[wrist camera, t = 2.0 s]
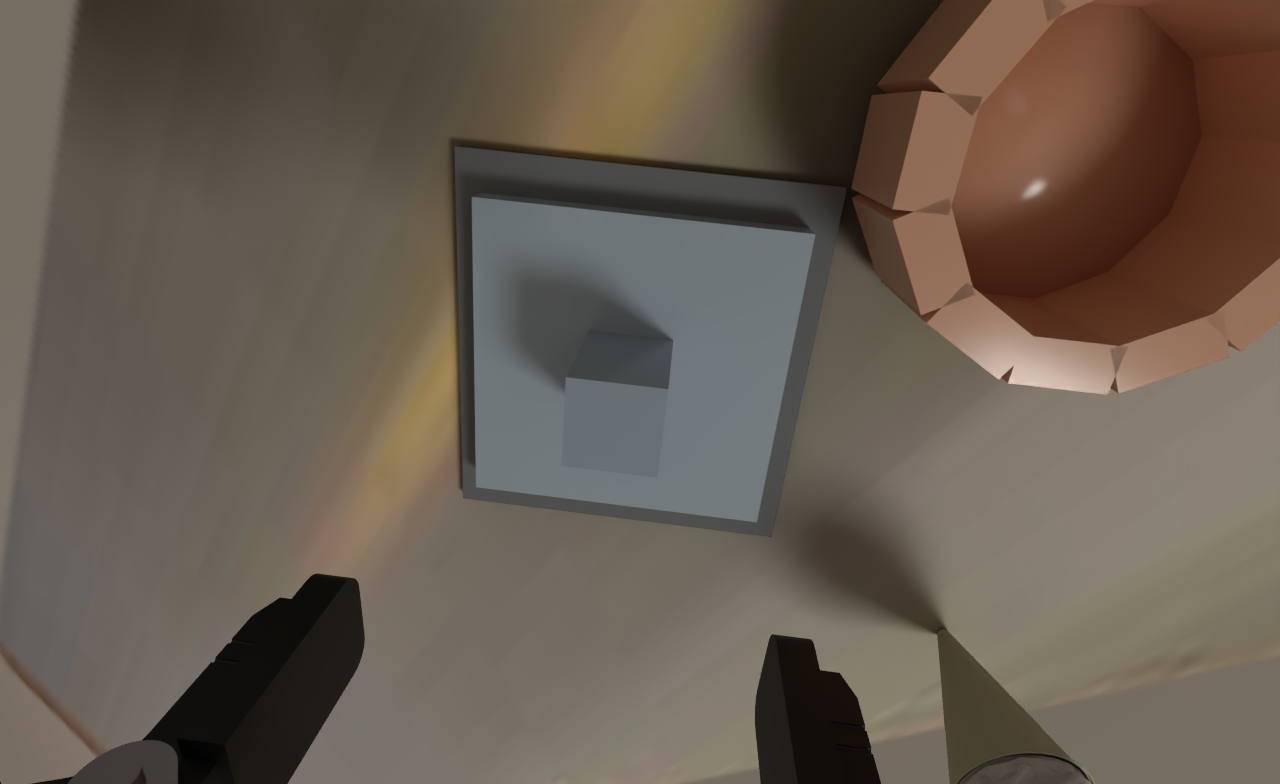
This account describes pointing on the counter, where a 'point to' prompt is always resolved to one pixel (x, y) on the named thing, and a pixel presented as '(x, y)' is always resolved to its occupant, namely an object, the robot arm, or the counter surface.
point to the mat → (658, 194)
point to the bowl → (1081, 184)
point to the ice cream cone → (994, 729)
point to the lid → (631, 352)
